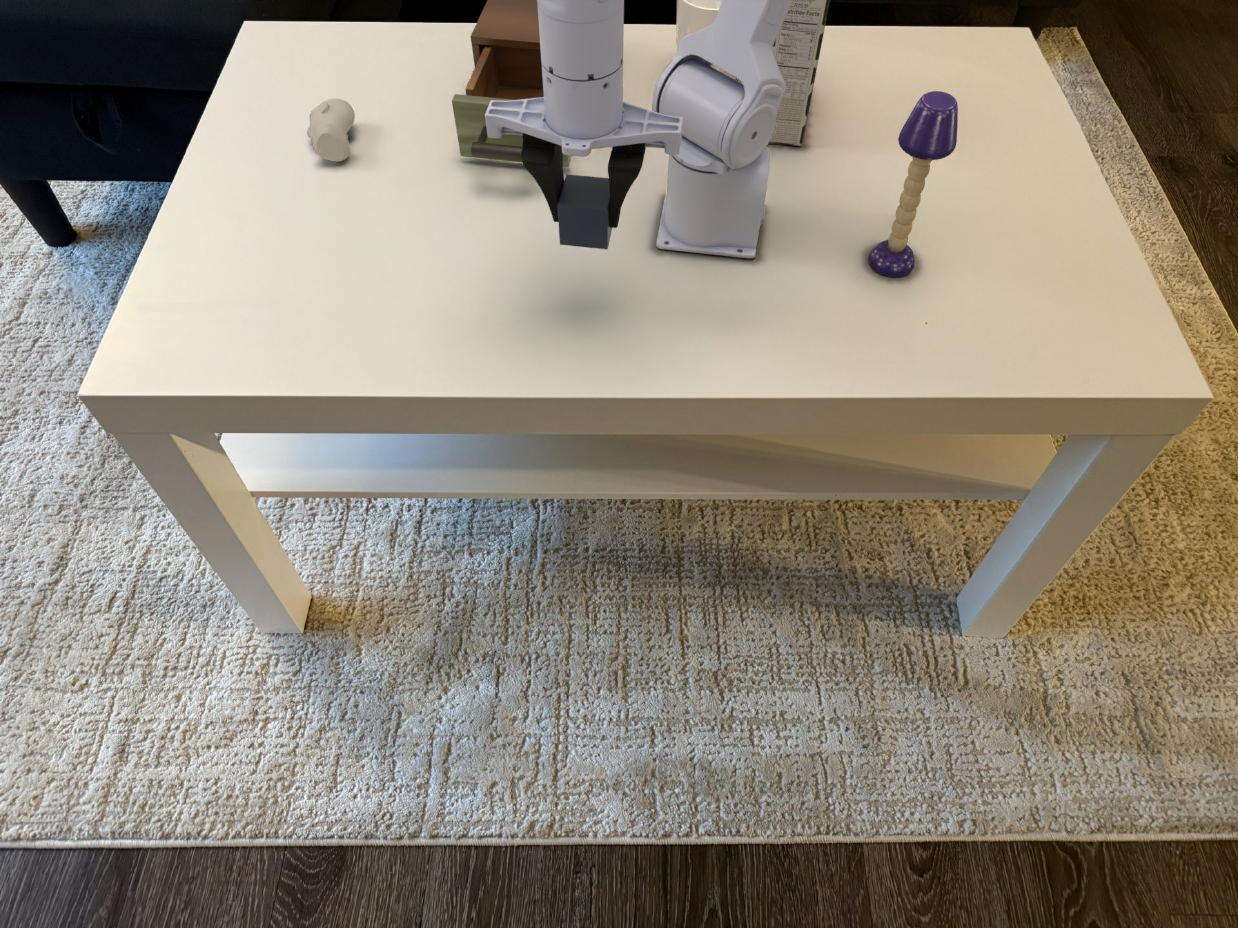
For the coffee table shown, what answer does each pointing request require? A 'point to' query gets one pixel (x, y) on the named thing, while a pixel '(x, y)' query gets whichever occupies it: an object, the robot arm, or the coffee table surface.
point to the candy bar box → (798, 67)
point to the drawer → (500, 80)
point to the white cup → (696, 20)
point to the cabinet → (506, 26)
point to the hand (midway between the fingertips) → (586, 217)
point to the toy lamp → (917, 175)
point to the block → (584, 212)
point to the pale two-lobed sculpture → (331, 129)
